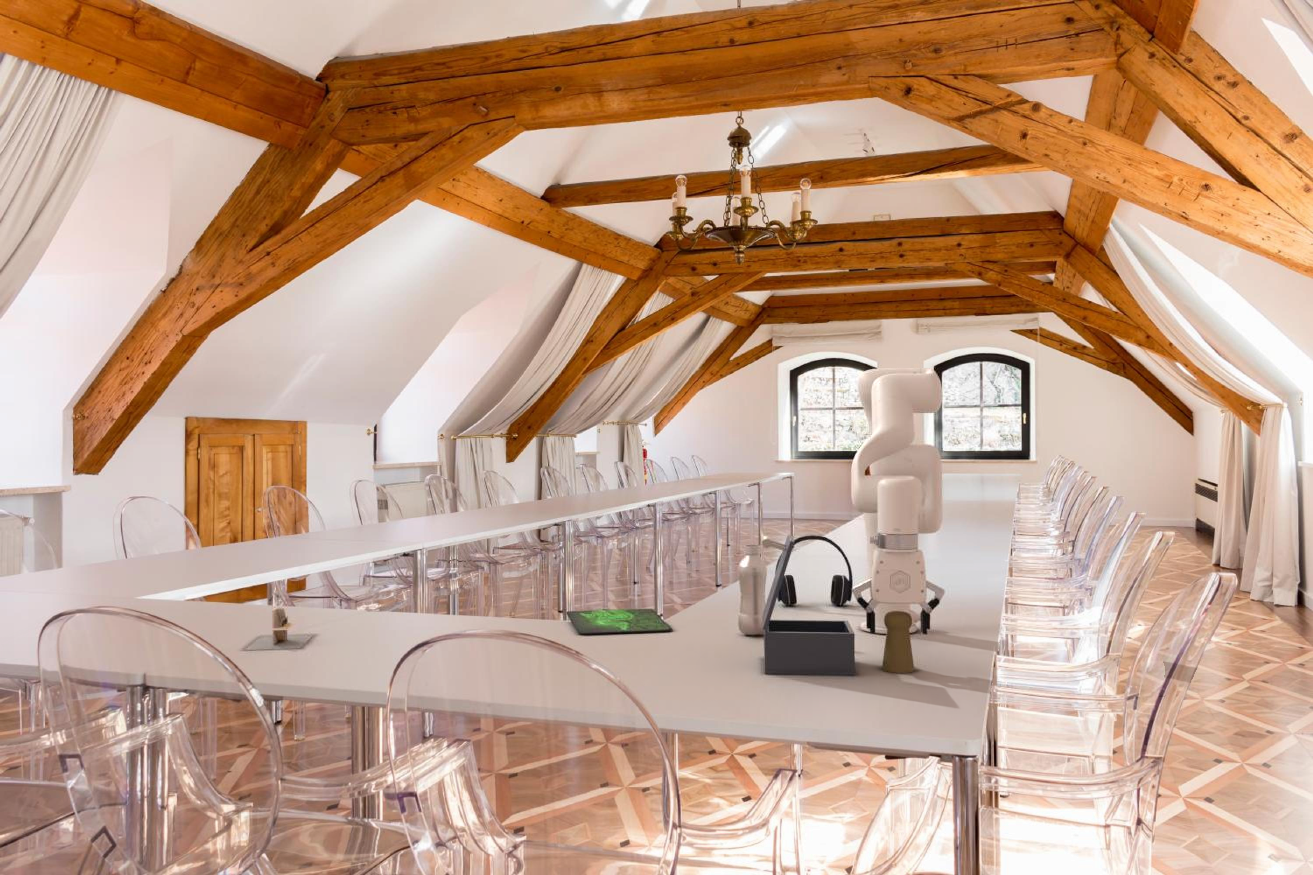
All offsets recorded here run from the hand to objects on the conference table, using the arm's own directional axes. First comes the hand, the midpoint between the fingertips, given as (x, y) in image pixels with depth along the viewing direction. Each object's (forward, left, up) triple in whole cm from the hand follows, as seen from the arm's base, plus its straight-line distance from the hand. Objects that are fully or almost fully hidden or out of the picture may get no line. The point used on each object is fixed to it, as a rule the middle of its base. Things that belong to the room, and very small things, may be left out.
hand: (898, 632), depth 199 cm
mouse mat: (+46, -58, -7) cm, 75 cm away
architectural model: (+121, -49, -7) cm, 131 cm away
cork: (0, 0, -7) cm, 7 cm away
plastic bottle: (+18, -38, -7) cm, 43 cm away
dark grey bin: (+16, -5, -7) cm, 18 cm away
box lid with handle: (+21, -7, +9) cm, 24 cm away
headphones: (-8, -74, -7) cm, 75 cm away
